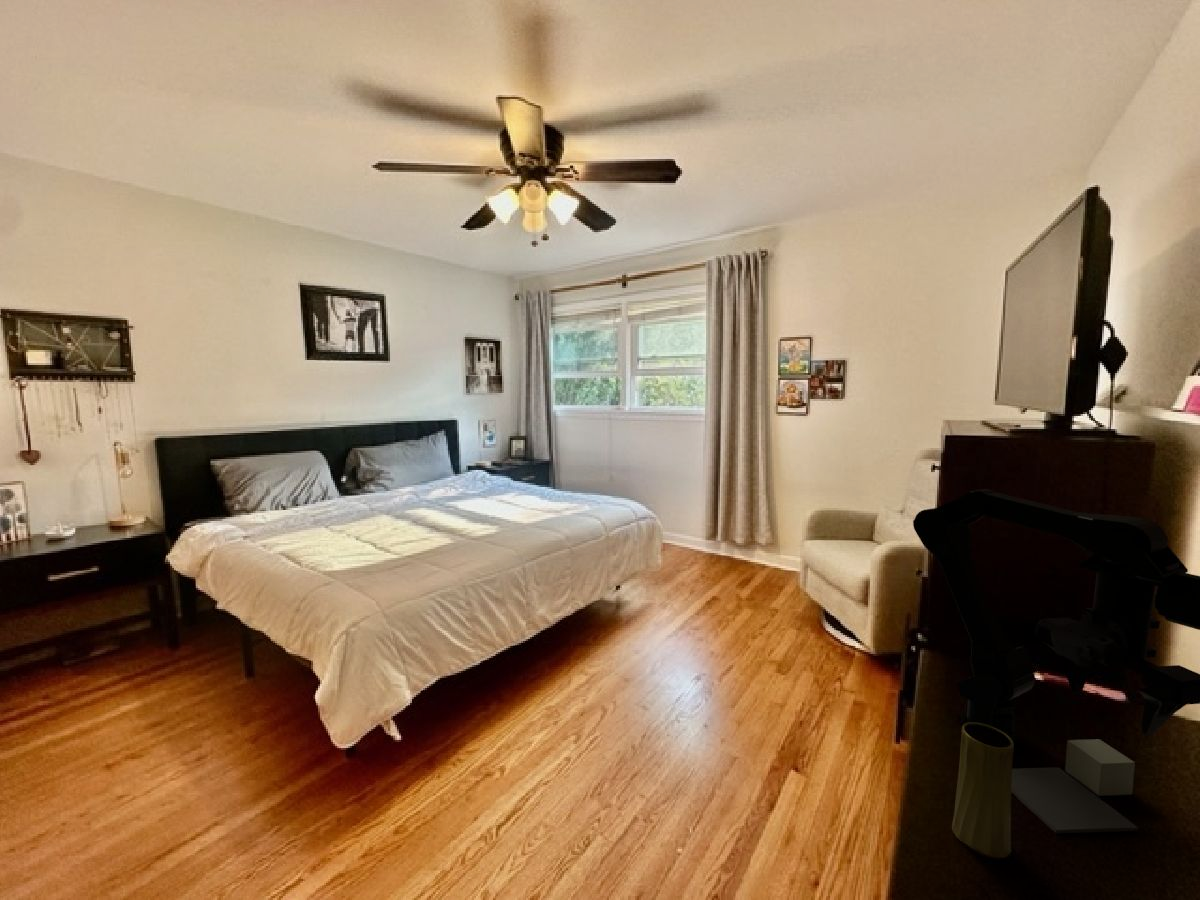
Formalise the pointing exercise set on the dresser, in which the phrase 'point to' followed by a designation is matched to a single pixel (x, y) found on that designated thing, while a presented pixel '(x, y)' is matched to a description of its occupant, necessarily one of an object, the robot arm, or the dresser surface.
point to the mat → (1065, 802)
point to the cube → (1099, 767)
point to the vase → (984, 790)
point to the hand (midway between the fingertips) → (1109, 712)
